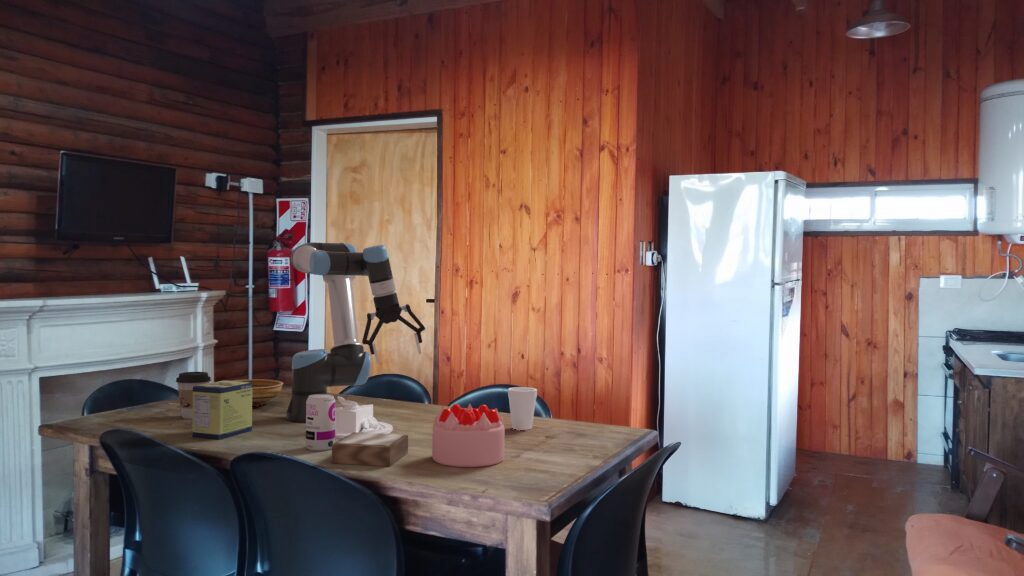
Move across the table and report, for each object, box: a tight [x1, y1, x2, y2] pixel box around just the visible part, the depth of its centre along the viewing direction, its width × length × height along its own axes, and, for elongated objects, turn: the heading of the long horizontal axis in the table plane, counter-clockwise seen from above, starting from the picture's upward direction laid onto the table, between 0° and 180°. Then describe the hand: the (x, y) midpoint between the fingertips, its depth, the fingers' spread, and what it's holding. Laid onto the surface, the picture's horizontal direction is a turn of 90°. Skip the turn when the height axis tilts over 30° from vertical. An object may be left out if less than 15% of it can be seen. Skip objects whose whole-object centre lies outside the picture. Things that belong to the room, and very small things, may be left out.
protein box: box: [191, 379, 253, 440], centre depth 243 cm, size 10×16×16 cm
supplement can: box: [305, 393, 337, 452], centre depth 225 cm, size 8×8×15 cm
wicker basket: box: [232, 378, 284, 407], centre depth 296 cm, size 30×24×8 cm
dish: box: [335, 395, 394, 440], centre depth 250 cm, size 25×25×11 cm
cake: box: [431, 403, 506, 468], centre depth 215 cm, size 20×20×14 cm
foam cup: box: [507, 386, 538, 431], centre depth 258 cm, size 10×9×13 cm
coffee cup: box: [175, 371, 212, 420], centre depth 269 cm, size 11×11×15 cm
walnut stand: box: [331, 432, 409, 467], centre depth 214 cm, size 16×16×5 cm
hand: (399, 358), depth 251 cm, fingers open, 13 cm apart
